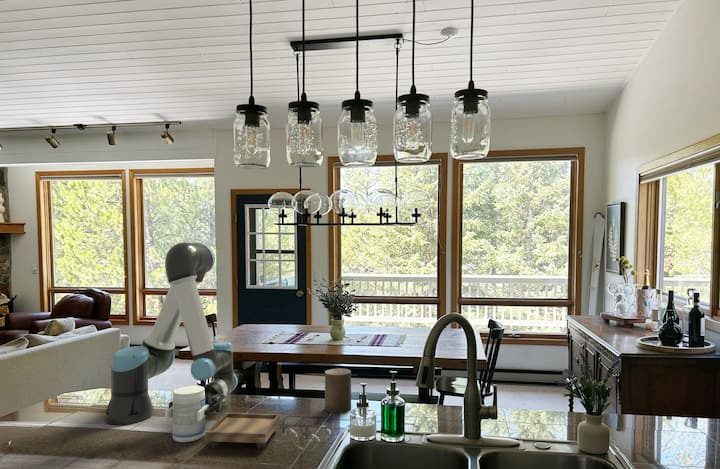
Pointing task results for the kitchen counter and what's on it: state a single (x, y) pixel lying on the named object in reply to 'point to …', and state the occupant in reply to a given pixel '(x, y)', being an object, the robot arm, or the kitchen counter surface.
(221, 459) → the kitchen counter surface
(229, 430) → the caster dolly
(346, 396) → the pillar candle
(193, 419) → the supplement tub
